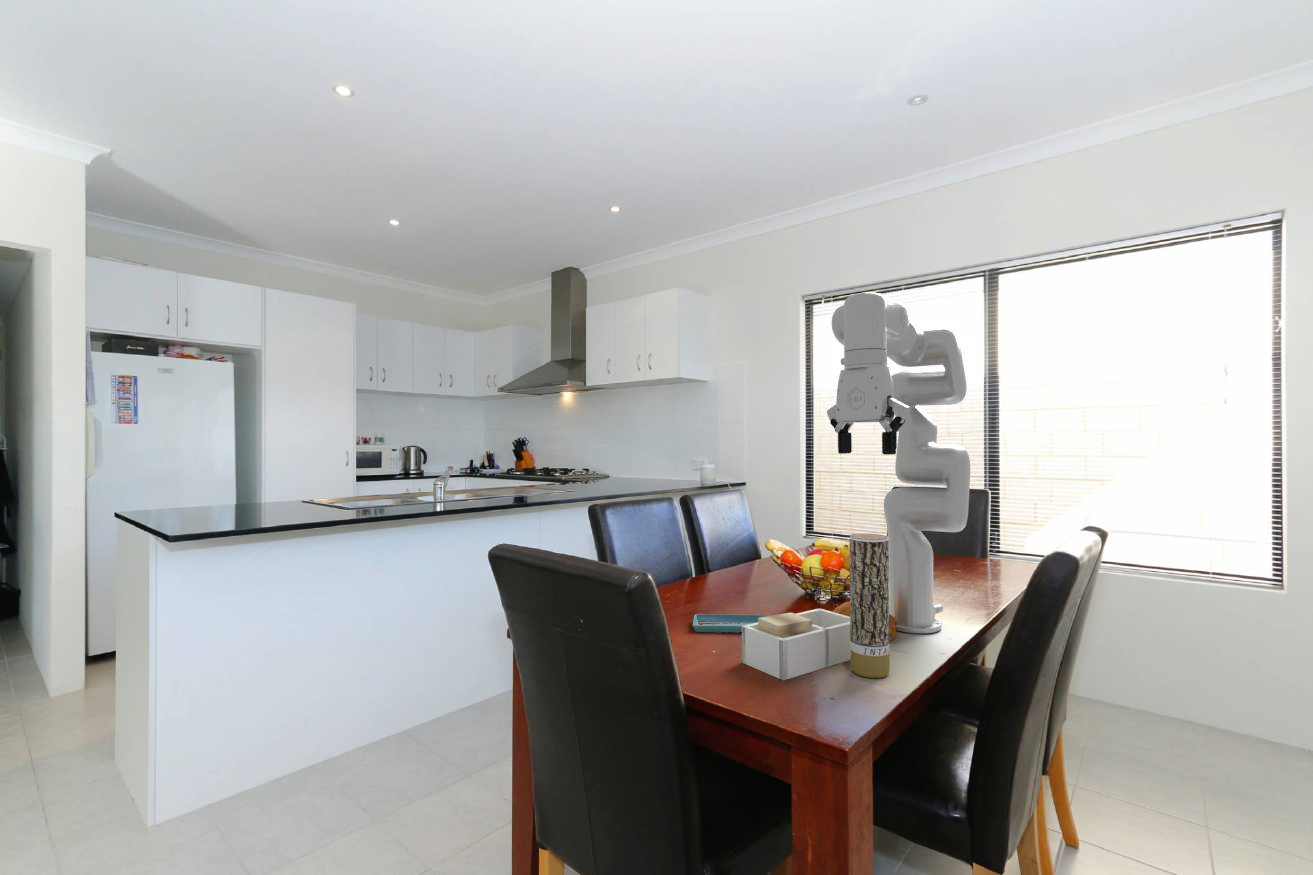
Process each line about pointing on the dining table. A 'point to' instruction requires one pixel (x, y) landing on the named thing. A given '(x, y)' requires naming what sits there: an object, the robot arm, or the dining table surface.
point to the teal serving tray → (723, 619)
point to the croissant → (845, 610)
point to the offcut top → (785, 625)
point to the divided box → (799, 646)
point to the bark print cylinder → (869, 605)
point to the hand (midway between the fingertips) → (866, 453)
